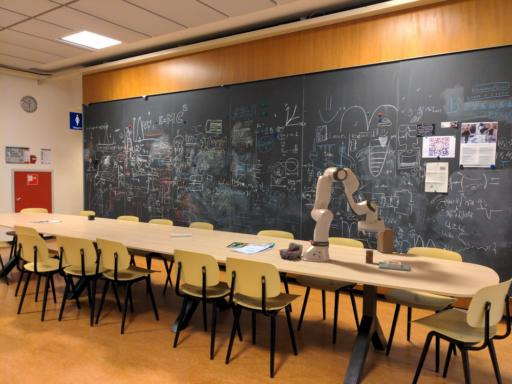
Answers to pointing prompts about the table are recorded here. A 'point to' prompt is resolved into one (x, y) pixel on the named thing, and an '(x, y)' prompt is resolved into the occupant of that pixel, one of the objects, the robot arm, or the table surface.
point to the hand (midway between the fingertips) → (371, 235)
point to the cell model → (292, 251)
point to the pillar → (369, 256)
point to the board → (394, 265)
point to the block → (386, 241)
